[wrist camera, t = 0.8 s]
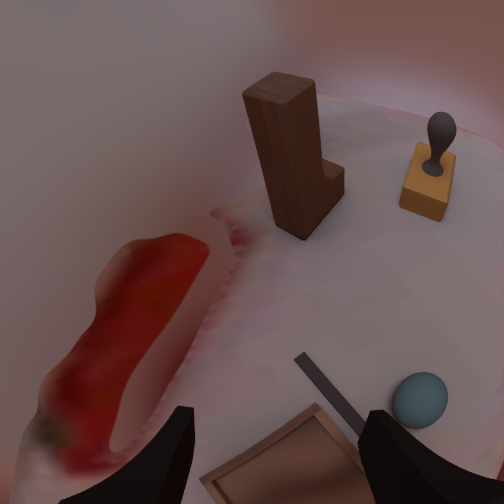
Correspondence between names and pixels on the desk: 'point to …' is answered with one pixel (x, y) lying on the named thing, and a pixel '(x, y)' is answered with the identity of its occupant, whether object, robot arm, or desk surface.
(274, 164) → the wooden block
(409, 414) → the ball
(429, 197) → the rubber stamp
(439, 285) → the desk surface
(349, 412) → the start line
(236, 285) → the desk surface
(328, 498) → the tray
